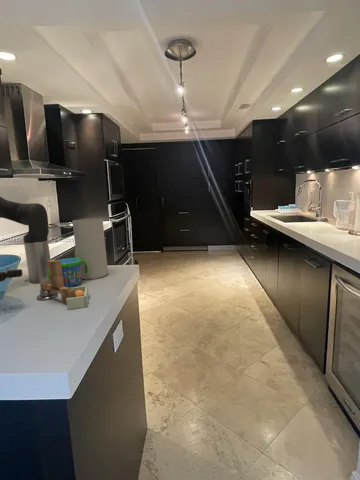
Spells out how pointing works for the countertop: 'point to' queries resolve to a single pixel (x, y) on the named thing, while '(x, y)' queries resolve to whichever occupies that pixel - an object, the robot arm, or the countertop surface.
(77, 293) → the ball
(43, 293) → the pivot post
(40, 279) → the robot arm
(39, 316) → the countertop surface
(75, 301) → the sage green c-shaped clamp
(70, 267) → the snack cup
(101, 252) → the cylinder vase
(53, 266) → the lever
